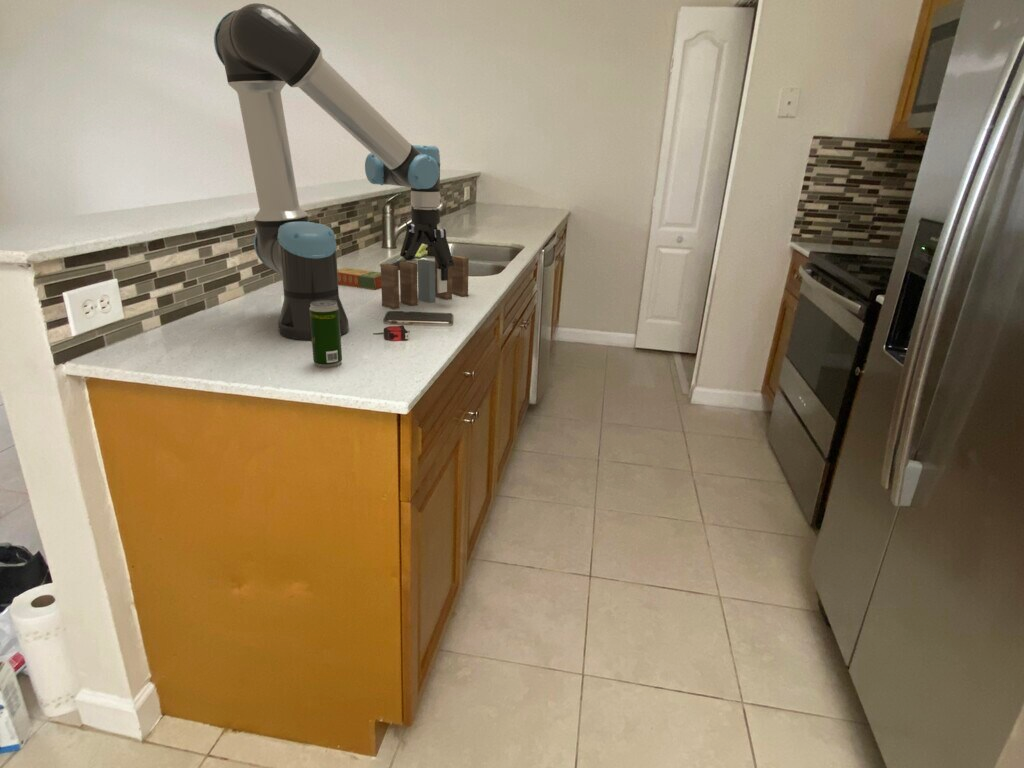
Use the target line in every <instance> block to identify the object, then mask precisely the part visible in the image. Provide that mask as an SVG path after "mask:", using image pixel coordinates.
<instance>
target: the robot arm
mask: <svg viewBox="0 0 1024 768" xmlns="http://www.w3.org/2000/svg"><path fill="white" fill-rule="evenodd" d="M213 44H214V50H215V53H216V55H217V57H218V59H219V60H220V62H221V63H222V65H223V66H224V69H225V76H226V79H227V84H228V86H229V87H231V88H232V89H233V90H234V91H235V92H236V93H237V96H238V102H239V107H240V112H241V113H240V114H241V118H242V123H243V129H244V133H245V139H246V144H247V150H248V155H249V160H250V165H251V171H252V176H253V180H254V186H255V191H256V197H257V198H256V199H257V202H258V207H259V211H258V212H257V213H256V214H255V215H254V216H253V218H254V219H253V220H254V224H255V230H256V231H255V234H254V238H253V248H254V252H255V254H256V256H257V257H258V259H259V260H260V262H261V263H263V265H265V267H266V268H267V269H269V270H271V271H273V272H274V273H278V274H280V275H281V278H282V279H281V280H282V287H283V288H282V289H283V303H282V307H281V309H280V314H279V318H278V323H277V325H278V333H279V334H280V336H282V337H285V338H287V339H292V340H304V341H312V337H311V324H310V311H309V308H310V303H311V302H313V301H319V300H331V301H336V302H337V305H338V307H339V317H340V333H341V336H342V335H344V334H346V333H348V332H349V330H350V329H349V328H350V326H349V324H350V323H349V319H348V316H347V314H346V311H345V309H344V305H343V303H342V301H341V298H340V293H339V285H338V273H337V270H338V261H337V260H338V258H337V255H338V254H337V242H336V236H335V231H334V230H333V229H332V228H331V227H330V226H328V225H325V224H322V223H316V222H311V221H309V217H308V213H307V212H306V211H305V210H304V209H303V208H301V207H300V203H299V197H298V191H297V190H298V189H297V185H296V179H295V173H294V166H293V161H292V155H291V154H292V153H291V148H290V142H289V137H288V130H287V124H286V123H287V122H286V118H285V111H284V106H283V99H282V95H281V94H282V93H281V92H282V89H284V87H285V86H286V84H287V85H288V86H289V87H290V88H298V89H299V90H301V91H302V93H305V94H306V96H308V97H309V98H310V99H311V100H312V101H313V102H314V103H315V104H316V105H317V106H318V107H320V108H321V109H322V110H324V111H325V113H326V114H327V115H329V116H330V118H332V119H333V120H334V121H335V122H337V123H338V124H339V125H340V127H342V128H343V129H344V130H345V131H346V132H348V133H349V134H350V135H351V136H352V137H353V138H354V139H355V140H356V141H358V142H359V143H360V144H361V145H362V146H363V147H364V148H365V149H367V151H368V152H370V153H369V154H367V156H366V157H365V161H364V171H365V172H364V173H365V177H366V178H367V180H368V182H369V183H370V184H372V185H380V186H383V185H384V186H385V185H387V186H388V185H391V186H395V187H396V186H398V187H406V188H410V206H411V207H412V209H411V213H410V215H411V216H410V218H411V221H410V222H412V223H411V224H410V223H409V224H407V225H406V230H405V231H406V232H405V236H404V240H403V243H402V247H401V250H400V253H399V254H400V255H399V256H400V257H403V259H404V261H407V262H411V263H415V264H417V261H416V257H415V256H416V255H417V253H418V252H419V250H420V248H421V246H422V244H423V245H426V246H428V248H430V250H431V252H432V255H433V256H434V260H435V259H436V261H437V263H438V265H439V267H438V268H437V293H443V292H447V280H448V268H449V267H452V266H454V263H453V259H452V256H453V255H452V253H451V250H450V246H449V242H448V239H447V230H446V229H445V228H442V229H441V228H439V229H438V225H439V224H440V223H441V210H440V209H438V208H439V207H440V206H441V203H440V202H441V201H440V200H441V193H440V192H441V191H440V189H441V187H440V186H441V155H440V150H439V148H438V147H437V146H436V145H423V144H422V145H419V144H418V145H416V144H411V143H410V142H409V141H408V140H407V139H406V138H405V137H404V136H403V135H402V134H401V133H400V132H399V131H398V130H397V129H396V128H395V127H394V126H393V125H392V124H391V123H390V122H389V121H388V120H386V119H385V117H384V116H383V115H382V114H380V113H379V112H378V111H377V110H376V108H374V107H373V106H372V105H371V104H370V103H369V102H368V100H366V99H365V97H363V95H362V94H360V93H359V92H358V90H356V89H355V88H354V87H353V86H352V85H351V84H350V83H349V82H348V81H347V80H346V79H345V78H344V77H343V76H341V74H340V73H339V72H337V70H336V69H334V68H333V66H331V64H330V63H329V62H328V61H326V60H325V58H324V57H323V53H322V48H321V47H319V45H318V44H317V43H315V41H313V39H312V38H311V37H310V36H309V35H307V33H306V32H305V31H304V30H302V28H300V27H299V26H298V25H297V24H296V23H295V22H294V21H293V20H292V19H290V17H288V16H287V15H286V14H284V13H283V12H282V11H280V10H278V9H277V8H275V7H273V6H272V5H271V6H270V5H268V4H265V3H258V2H257V3H256V2H255V3H249V4H247V5H244V6H242V7H241V8H239V9H237V10H232V11H230V12H228V13H227V14H225V15H224V16H223V17H222V18H221V20H220V21H219V22H218V24H217V25H216V28H215V31H214V35H213ZM448 261H449V262H448Z"/></svg>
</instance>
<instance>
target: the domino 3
mask: <svg viewBox="0 0 1024 768" xmlns="http://www.w3.org/2000/svg"><path fill="white" fill-rule="evenodd" d="M417 289H418V301H422V302H426V303H430V304H431V303H435V302H436V297H435V260H434V261H433V260H428V259H424V258H423V259H422V258H421V259H417Z"/></svg>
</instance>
